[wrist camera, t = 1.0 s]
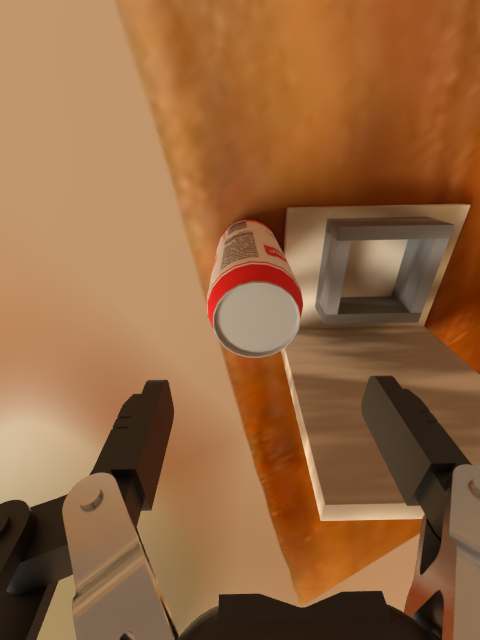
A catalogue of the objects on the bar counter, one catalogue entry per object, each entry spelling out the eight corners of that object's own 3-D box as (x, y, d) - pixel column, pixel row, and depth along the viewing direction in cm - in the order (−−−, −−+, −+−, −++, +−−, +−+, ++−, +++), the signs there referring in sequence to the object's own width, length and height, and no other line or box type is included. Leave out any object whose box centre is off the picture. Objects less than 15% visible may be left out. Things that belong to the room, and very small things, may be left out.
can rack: (414, 334, 35) (599, 514, 17) (277, 337, 35) (320, 520, 17) (463, 203, 27) (906, 286, 9) (286, 207, 27) (383, 296, 9)
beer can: (263, 206, 27) (290, 252, 14) (283, 261, 30) (323, 344, 16) (208, 232, 29) (182, 299, 15) (233, 282, 31) (230, 377, 18)
